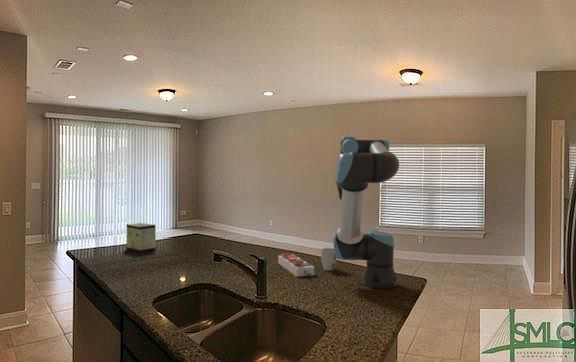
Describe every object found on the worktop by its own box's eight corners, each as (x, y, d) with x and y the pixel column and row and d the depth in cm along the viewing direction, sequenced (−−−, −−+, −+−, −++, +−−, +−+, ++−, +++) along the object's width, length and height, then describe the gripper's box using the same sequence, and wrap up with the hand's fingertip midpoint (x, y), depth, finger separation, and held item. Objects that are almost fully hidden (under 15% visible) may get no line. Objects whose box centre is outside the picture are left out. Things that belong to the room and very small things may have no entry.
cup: (335, 271, 198) (336, 251, 198) (319, 270, 200) (319, 251, 200) (337, 267, 206) (337, 248, 206) (321, 266, 208) (321, 247, 208)
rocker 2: (296, 261, 201) (296, 258, 201) (289, 262, 200) (290, 259, 200) (293, 257, 206) (293, 254, 206) (286, 257, 205) (286, 255, 204)
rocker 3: (303, 263, 192) (303, 260, 192) (296, 264, 191) (296, 261, 191) (299, 263, 197) (299, 260, 197) (292, 264, 196) (292, 261, 196)
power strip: (319, 278, 186) (319, 269, 186) (301, 280, 183) (301, 270, 183) (293, 261, 218) (294, 253, 218) (278, 262, 215) (278, 255, 215)
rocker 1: (290, 255, 209) (290, 253, 209) (284, 256, 208) (284, 253, 208) (287, 255, 214) (287, 253, 214) (281, 256, 213) (280, 253, 213)
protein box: (141, 246, 254) (140, 222, 254) (156, 249, 245) (156, 224, 245) (126, 249, 246) (126, 224, 245) (141, 252, 237) (141, 226, 236)
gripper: (355, 167, 208) (354, 212, 209) (332, 167, 204) (332, 213, 205) (362, 167, 201) (362, 214, 202) (339, 167, 197) (338, 215, 198)
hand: (347, 213), depth 203 cm, fingers closed
